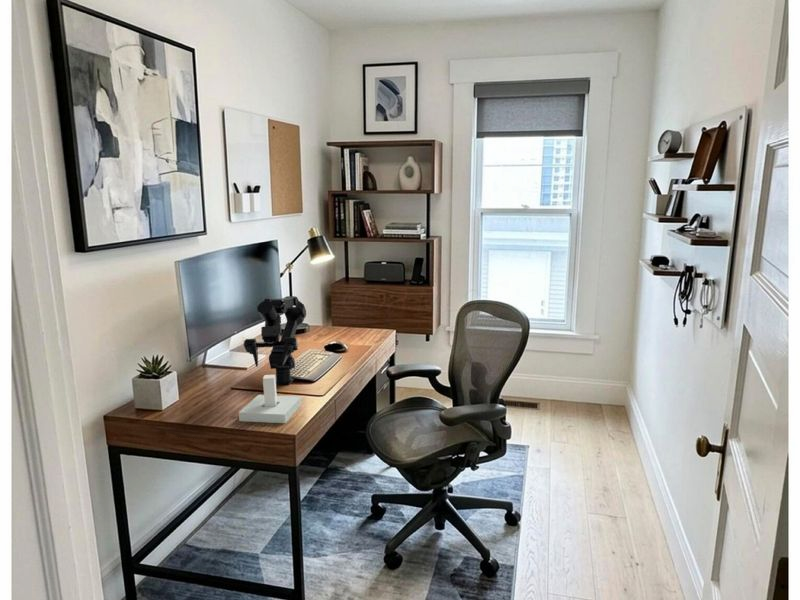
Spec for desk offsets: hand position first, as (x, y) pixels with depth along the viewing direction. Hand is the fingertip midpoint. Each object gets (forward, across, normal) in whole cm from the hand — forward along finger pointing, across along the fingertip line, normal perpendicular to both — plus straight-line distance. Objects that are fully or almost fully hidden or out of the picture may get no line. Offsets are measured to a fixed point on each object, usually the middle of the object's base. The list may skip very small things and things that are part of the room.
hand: (269, 365), depth 190 cm
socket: (+17, +1, +2) cm, 17 cm away
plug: (+17, +2, +2) cm, 17 cm away
